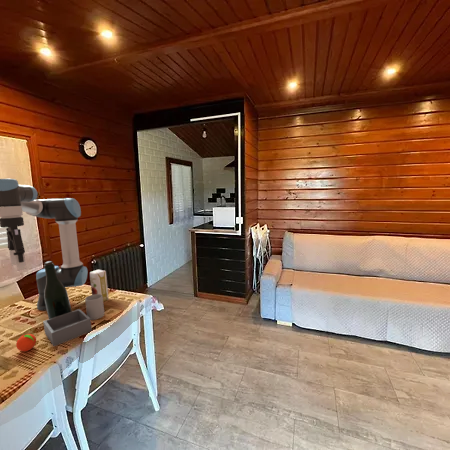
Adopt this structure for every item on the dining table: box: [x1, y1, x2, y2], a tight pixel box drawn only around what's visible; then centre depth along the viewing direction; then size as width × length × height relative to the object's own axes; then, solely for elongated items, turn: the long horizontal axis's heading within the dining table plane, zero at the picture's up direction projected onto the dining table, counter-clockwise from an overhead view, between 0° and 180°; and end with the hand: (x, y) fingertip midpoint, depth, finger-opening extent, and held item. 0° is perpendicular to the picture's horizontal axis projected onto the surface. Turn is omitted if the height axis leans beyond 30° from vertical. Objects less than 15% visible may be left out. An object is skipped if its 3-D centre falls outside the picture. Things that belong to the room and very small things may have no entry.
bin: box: [42, 308, 93, 347], centre depth 122 cm, size 16×16×6 cm
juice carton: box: [89, 269, 109, 303], centre depth 157 cm, size 8×9×19 cm
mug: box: [84, 294, 105, 321], centre depth 139 cm, size 12×8×11 cm
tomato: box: [15, 333, 37, 352], centre depth 109 cm, size 8×7×7 cm
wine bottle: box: [43, 260, 73, 319], centre depth 131 cm, size 10×10×33 cm
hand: (18, 267), depth 106 cm, fingers open, 13 cm apart
